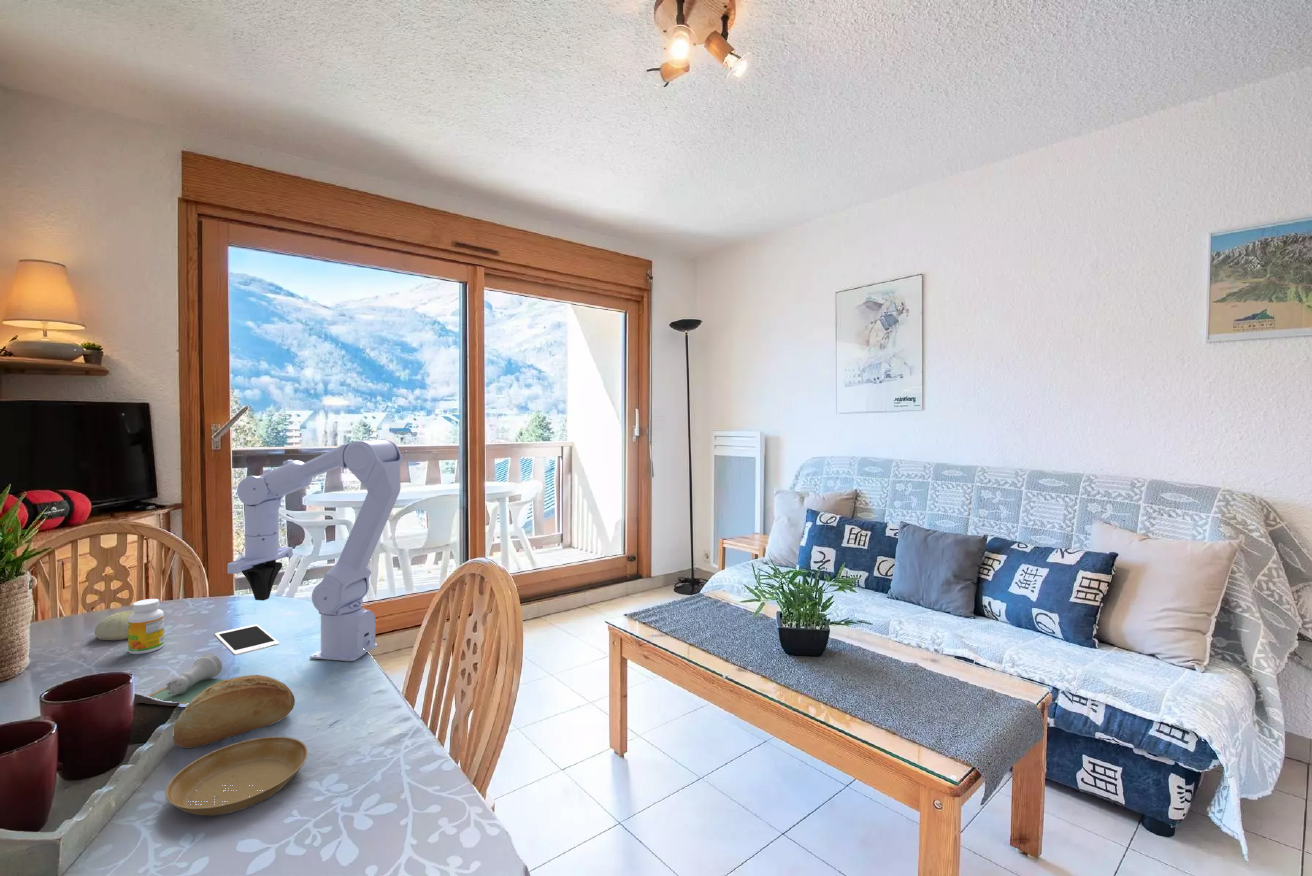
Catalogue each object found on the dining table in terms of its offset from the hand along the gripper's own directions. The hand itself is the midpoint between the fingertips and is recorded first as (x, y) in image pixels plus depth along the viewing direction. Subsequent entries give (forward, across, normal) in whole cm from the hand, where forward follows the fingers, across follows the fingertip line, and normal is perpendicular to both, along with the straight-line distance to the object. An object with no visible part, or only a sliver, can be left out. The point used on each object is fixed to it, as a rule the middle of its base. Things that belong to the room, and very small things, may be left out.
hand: (262, 599), depth 116 cm
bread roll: (+10, +29, +21) cm, 37 cm away
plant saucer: (+10, +40, +32) cm, 52 cm away
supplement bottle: (+10, +4, -22) cm, 24 cm away
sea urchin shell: (+10, -2, -34) cm, 35 cm away
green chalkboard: (+10, +19, +4) cm, 22 cm away
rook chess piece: (+7, +14, +2) cm, 16 cm away
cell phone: (+11, -3, -6) cm, 13 cm away
